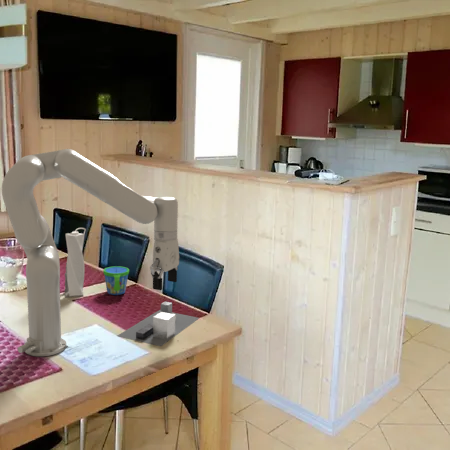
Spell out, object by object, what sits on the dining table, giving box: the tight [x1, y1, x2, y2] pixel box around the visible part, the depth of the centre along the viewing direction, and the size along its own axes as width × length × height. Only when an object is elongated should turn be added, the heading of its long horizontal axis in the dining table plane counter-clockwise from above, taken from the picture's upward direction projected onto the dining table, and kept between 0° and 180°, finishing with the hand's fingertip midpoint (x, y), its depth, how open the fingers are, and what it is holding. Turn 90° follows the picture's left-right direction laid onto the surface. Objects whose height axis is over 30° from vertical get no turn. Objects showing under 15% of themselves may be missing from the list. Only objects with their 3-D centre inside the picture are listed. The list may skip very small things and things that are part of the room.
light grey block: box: [153, 312, 175, 340], centre depth 173 cm, size 5×5×7 cm
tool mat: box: [117, 309, 200, 347], centre depth 181 cm, size 28×17×1 cm, turn 157°
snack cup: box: [103, 265, 130, 296], centre depth 216 cm, size 16×10×10 cm
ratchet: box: [136, 301, 176, 340], centre depth 179 cm, size 21×7×7 cm, turn 157°
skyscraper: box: [64, 227, 87, 298], centre depth 210 cm, size 8×8×28 cm
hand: (165, 285), depth 170 cm, fingers open, 9 cm apart
